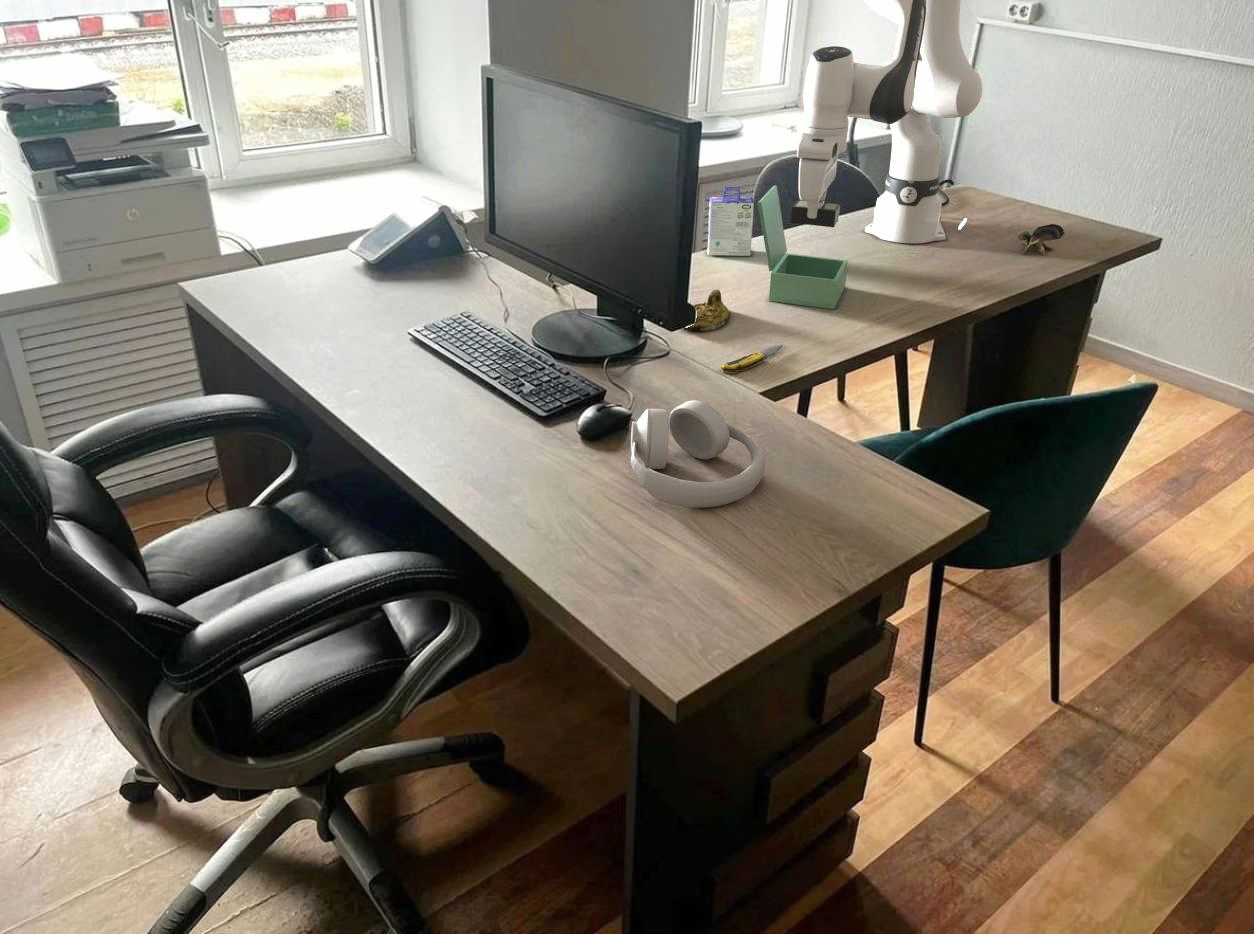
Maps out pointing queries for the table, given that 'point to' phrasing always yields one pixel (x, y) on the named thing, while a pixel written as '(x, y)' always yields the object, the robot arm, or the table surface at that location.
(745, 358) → the utility knife
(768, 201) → the cover
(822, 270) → the green box
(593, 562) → the table surface
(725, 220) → the ink cartridge box
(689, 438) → the headphones
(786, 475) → the table surface
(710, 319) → the seal
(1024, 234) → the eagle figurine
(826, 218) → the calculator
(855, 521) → the table surface
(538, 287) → the table surface
